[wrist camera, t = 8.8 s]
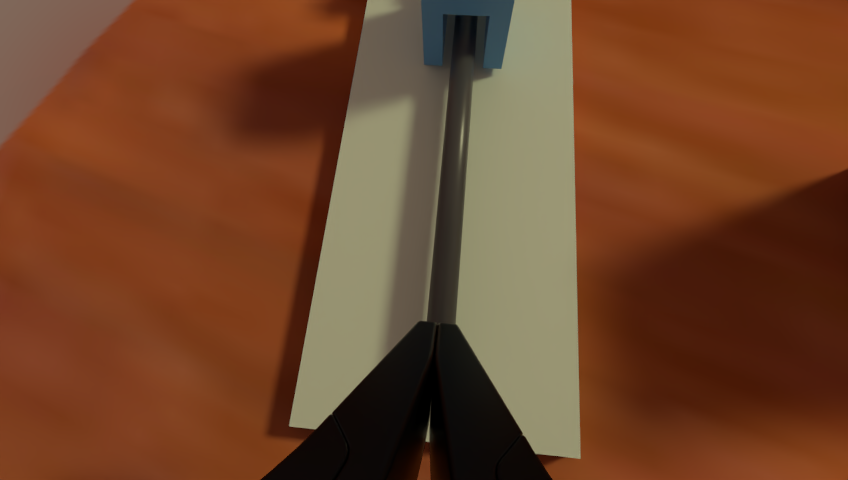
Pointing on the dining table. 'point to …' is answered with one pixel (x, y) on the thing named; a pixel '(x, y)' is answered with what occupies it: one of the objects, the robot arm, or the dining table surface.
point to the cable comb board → (455, 215)
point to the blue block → (491, 3)
